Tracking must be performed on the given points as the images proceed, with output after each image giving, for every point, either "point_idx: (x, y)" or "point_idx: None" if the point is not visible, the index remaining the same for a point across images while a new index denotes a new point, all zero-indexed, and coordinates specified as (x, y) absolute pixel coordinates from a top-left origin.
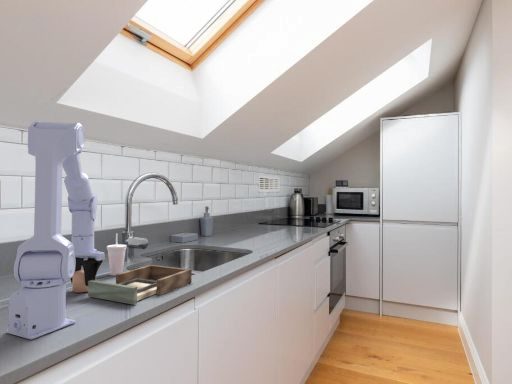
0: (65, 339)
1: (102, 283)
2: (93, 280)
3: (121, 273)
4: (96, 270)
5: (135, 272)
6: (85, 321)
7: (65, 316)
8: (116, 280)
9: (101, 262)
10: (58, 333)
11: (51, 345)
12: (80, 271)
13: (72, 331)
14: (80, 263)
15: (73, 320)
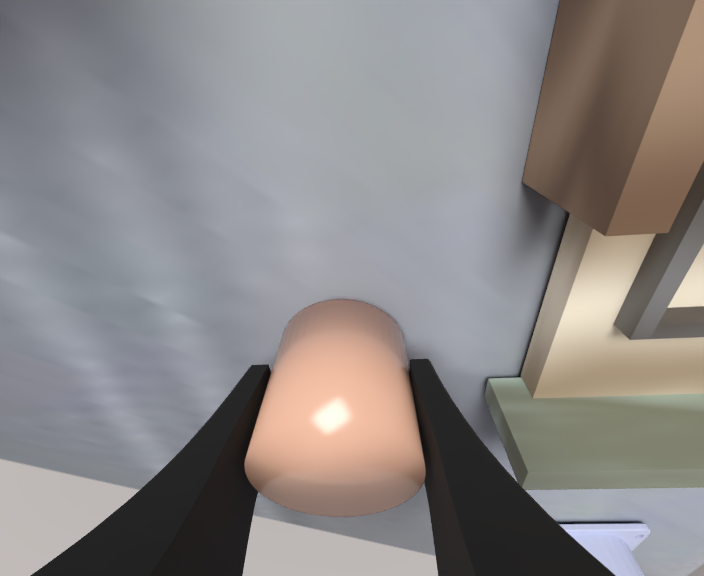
0: (681, 555)
1: (673, 487)
2: (548, 473)
3: (671, 153)
4: (492, 469)
5: None
6: (670, 507)
7: (629, 555)
8: (571, 207)
9: (598, 570)
10: (637, 548)
11: (665, 568)
12: (300, 475)
13: (671, 538)
14: (194, 532)
15: (643, 531)
